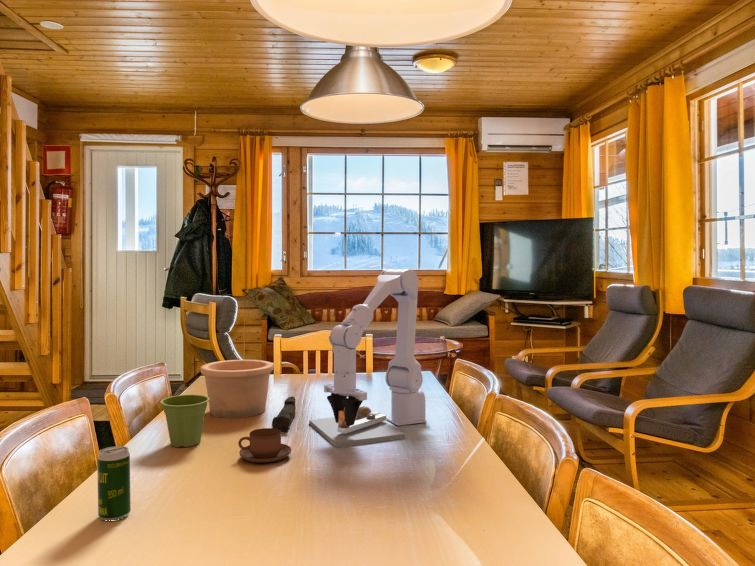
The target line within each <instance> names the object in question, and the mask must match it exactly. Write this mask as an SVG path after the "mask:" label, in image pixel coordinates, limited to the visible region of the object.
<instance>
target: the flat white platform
mask: <svg viewBox="0 0 755 566" xmlns="http://www.w3.org/2000/svg"><path fill="white" fill-rule="evenodd" d="M362 407H366V406H365V405H364V404H363V405H362V404H361V405H360V407H359V409H358V412H357V415H356V418H355V421H357V420H360V419H362V418H361V417H360V416H359V410H360V409H361V408H362ZM308 422H309V423H308V424H309V425H310V426H311V427H312V428H313V429H314V430H315V431H317V432H318V433H319V434H320V435H321V436H322V437H323V438H324V439H326V440H327V441H328V442H329V443H330V444H331V445H333V446H334V447H335V448H339V447H340V448H342V447H349V446H357V445H364V444H371V443H379V442H386V441H388V442H389V441H393V440H395V441H396V440H402V439H405V438H406V433H404V432H402V431H401V430H399V429H398V428H396V427H394V426H393V425H391V424H389V423H388V422H386V420H385V421H382V422H379V423H376V424H373V425H370V426H367V427H364V428H361V429H358V430H355V431H352V432H349V433H346V434H344V433H340V432H337V426H338V423H336V421H335V417H332V416H331V417H324V418H316V419H309V421H308Z"/></svg>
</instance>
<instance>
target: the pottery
mask: <svg viewBox="0 0 755 566" xmlns="http://www.w3.org/2000/svg"><path fill="white" fill-rule="evenodd" d="M274 370H275V366H274V364H273V363H272V362H271V361H266V360H261V359H228V360H220V361H219V360H218V361H214V362H212V361H211V362H209V363H206V364H203V365H201V366H200V373H201V375H203V376H204V380H205V387H206V394H207V397H209V398H210V399H209V401H208V407H209V413H210V415H211V416H213V417H216V418H221V419H222V418H223V419H240V418H241V419H242V418H249V417H250V418H251V417H255V416H258V415H260V414H262V413H264V412H265V411H266V405H267V399H268V398H267V397H268V390H269V383H270V374H271V373H272V372H273V371H274Z"/></svg>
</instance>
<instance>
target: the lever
mask: <svg viewBox="0 0 755 566" xmlns="http://www.w3.org/2000/svg"><path fill="white" fill-rule="evenodd" d="M386 418H387V414H382V413H381V412H377V411H371V413H369V414H367V417H366V418H363V419H360V420H357V421H355V423H354V425H351V426H347V425H346V415H345V408H343V409H338V426H337V432H340V433H344V434H346V433H349V432H352V431H355V430H358V429H361V428H364V427H367V426H370V425H373V424H376V423H379V422H382V421H385V422H386V421H387V419H386Z"/></svg>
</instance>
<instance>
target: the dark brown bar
mask: <svg viewBox="0 0 755 566" xmlns="http://www.w3.org/2000/svg"><path fill="white" fill-rule="evenodd" d="M296 408H297V406H296V398H295V396H289V397H287V398H286V399H285V400H284V403H283V407H282V409H281V410H280V412H279V413H278V414H277V415H276V416H274V417H273V418H272V421H271V428H274V429H278V430H280V431H281V434H282V433H283V434H284V433H287V432H288V431H289V429H290V425H291V423H292V421H293V419H294V418H295V417H296Z"/></svg>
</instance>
